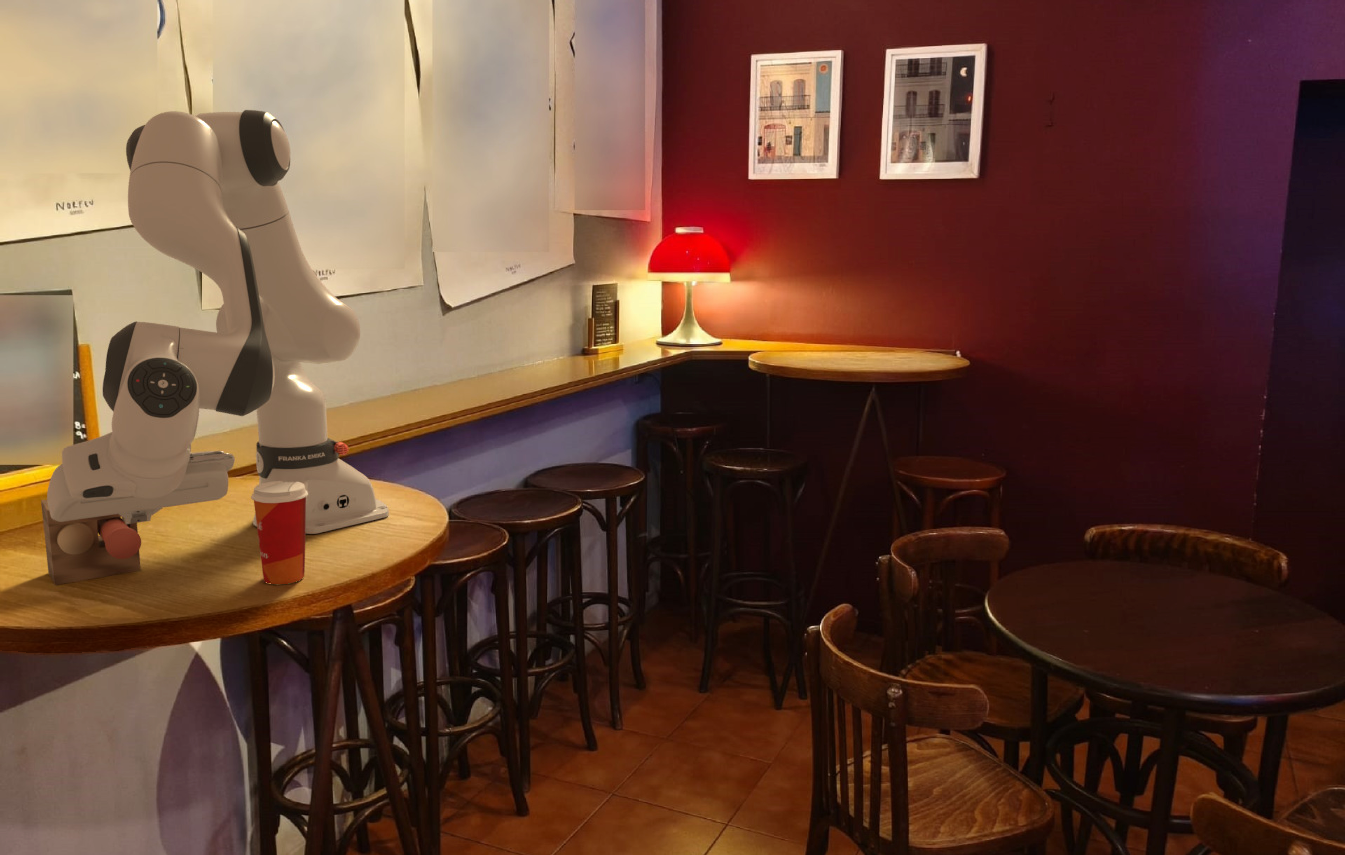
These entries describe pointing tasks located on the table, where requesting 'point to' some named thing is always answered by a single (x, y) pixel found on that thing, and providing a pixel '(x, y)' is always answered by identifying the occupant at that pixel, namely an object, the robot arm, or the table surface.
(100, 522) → the red plug
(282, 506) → the paper cup
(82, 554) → the socket block
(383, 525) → the table surface
